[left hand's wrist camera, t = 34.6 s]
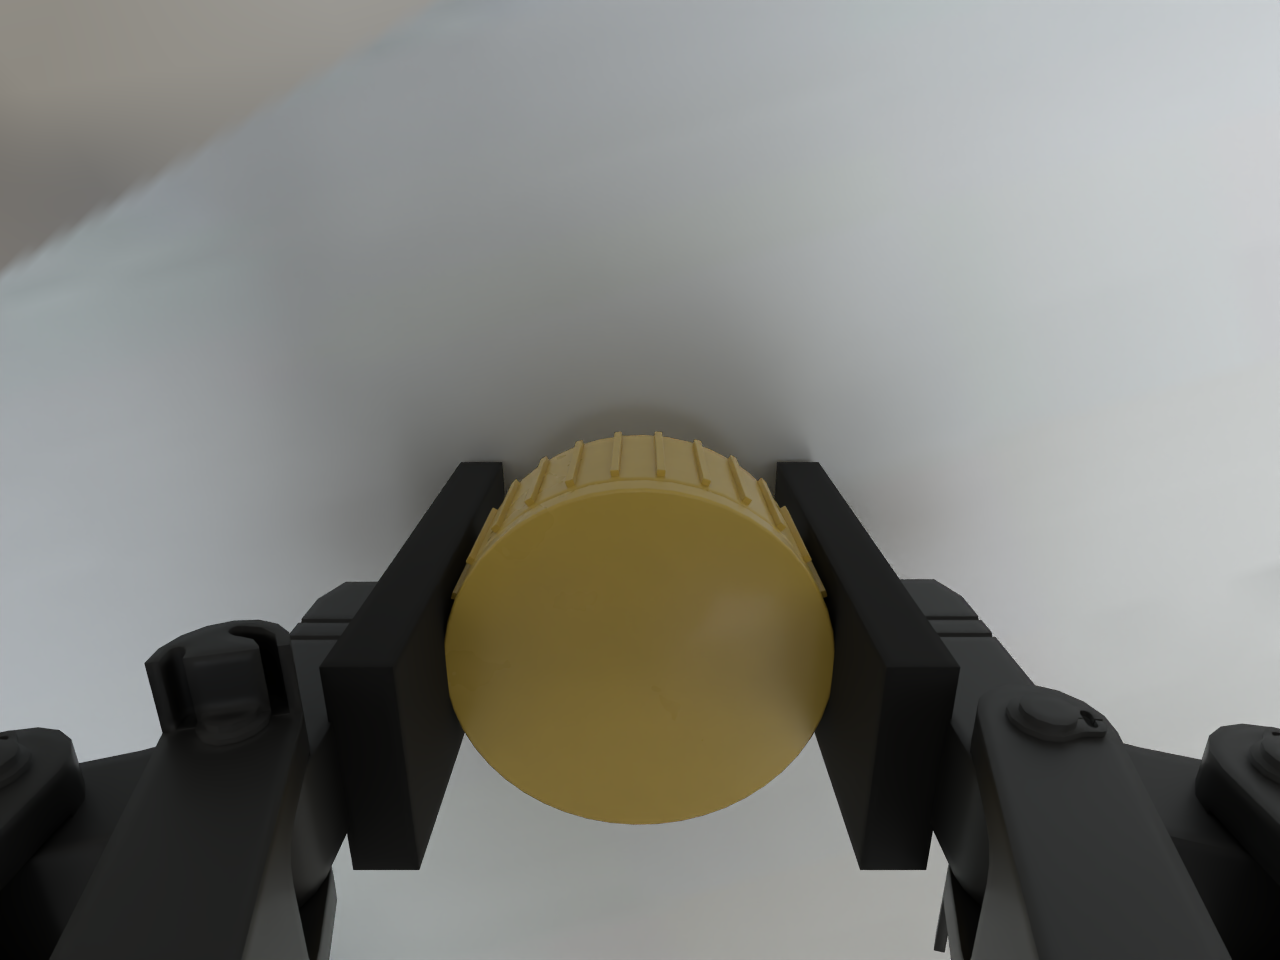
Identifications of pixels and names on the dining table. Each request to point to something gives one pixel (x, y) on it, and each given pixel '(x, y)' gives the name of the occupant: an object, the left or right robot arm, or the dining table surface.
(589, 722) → the lid
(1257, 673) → the dining table surface
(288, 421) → the dining table surface
